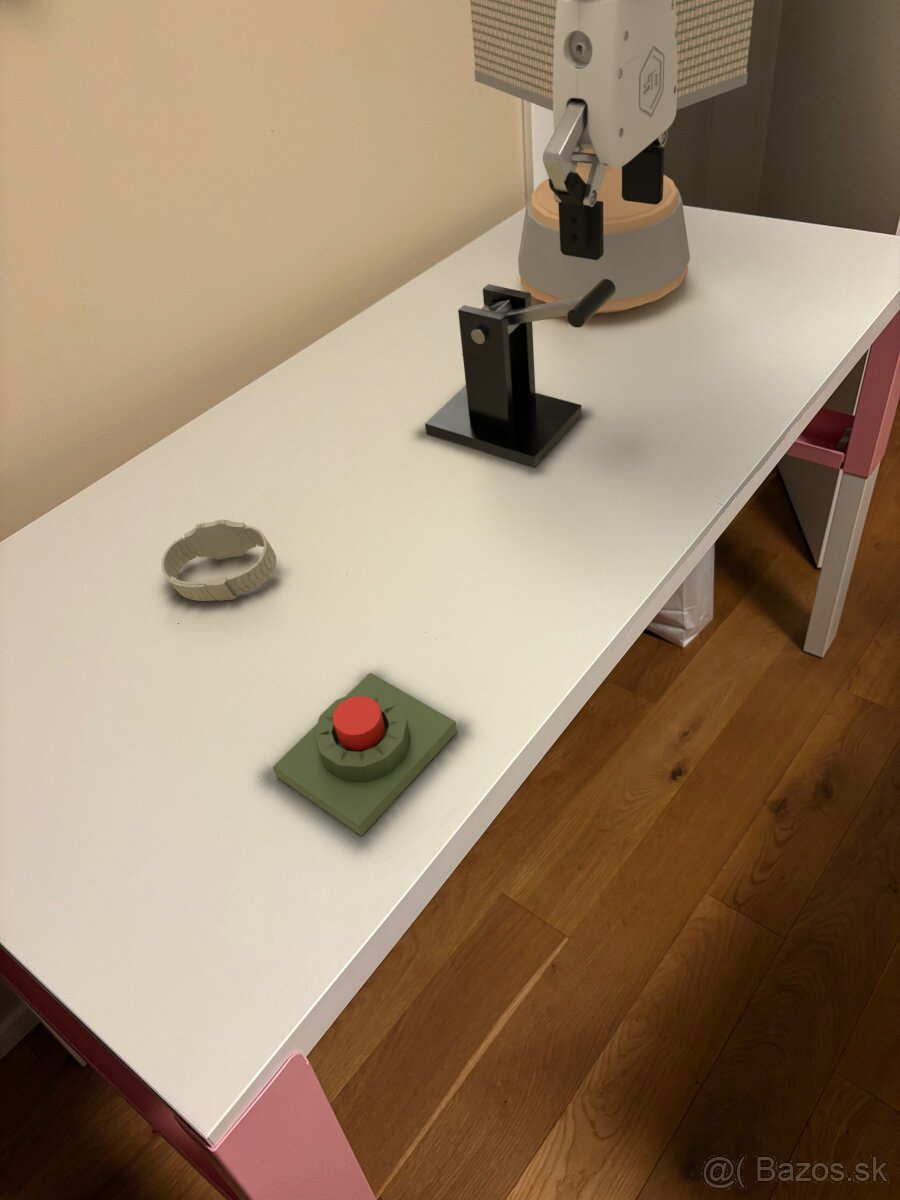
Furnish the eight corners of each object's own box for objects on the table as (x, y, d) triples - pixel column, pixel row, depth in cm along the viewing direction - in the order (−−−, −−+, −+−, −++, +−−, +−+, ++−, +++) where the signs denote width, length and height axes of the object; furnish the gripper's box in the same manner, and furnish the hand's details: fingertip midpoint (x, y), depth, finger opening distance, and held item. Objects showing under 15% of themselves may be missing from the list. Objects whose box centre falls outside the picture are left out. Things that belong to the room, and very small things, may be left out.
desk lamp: (479, 280, 112) (447, -101, 86) (606, 228, 118) (612, -142, 92) (596, 353, 98) (599, -74, 72) (733, 290, 104) (782, -124, 78)
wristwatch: (282, 548, 81) (268, 503, 78) (276, 600, 77) (261, 555, 73) (177, 560, 82) (159, 515, 78) (165, 612, 77) (145, 568, 74)
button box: (372, 682, 70) (366, 655, 68) (457, 731, 66) (453, 705, 64) (275, 776, 65) (265, 751, 63) (361, 836, 61) (353, 811, 59)
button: (359, 704, 65) (355, 688, 64) (394, 726, 63) (390, 709, 62) (327, 736, 63) (322, 720, 62) (362, 758, 62) (358, 742, 60)
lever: (619, 299, 78) (610, 272, 77) (588, 331, 75) (578, 303, 74) (504, 320, 86) (495, 295, 85) (472, 349, 83) (461, 324, 82)
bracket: (581, 415, 91) (581, 290, 81) (534, 467, 86) (528, 341, 77) (476, 386, 96) (464, 266, 87) (426, 434, 91) (408, 312, 82)
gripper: (602, -4, 52) (604, 288, 64) (725, -79, 62) (707, 188, 74) (487, -6, 56) (510, 271, 68) (620, -77, 65) (619, 177, 77)
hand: (613, 227), depth 71 cm, fingers open, 9 cm apart
